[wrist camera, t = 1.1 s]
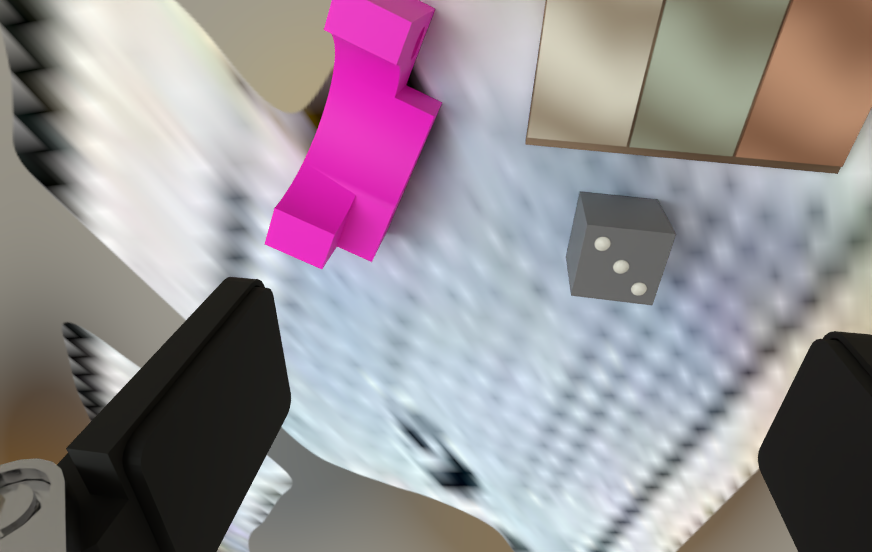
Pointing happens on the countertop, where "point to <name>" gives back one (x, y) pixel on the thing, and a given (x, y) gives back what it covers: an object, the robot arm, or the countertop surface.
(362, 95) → the toy block
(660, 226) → the die
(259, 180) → the countertop surface
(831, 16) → the striped panel
